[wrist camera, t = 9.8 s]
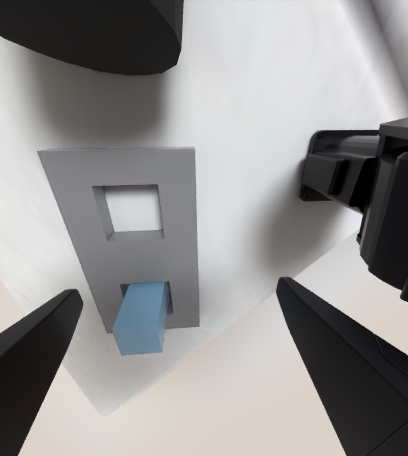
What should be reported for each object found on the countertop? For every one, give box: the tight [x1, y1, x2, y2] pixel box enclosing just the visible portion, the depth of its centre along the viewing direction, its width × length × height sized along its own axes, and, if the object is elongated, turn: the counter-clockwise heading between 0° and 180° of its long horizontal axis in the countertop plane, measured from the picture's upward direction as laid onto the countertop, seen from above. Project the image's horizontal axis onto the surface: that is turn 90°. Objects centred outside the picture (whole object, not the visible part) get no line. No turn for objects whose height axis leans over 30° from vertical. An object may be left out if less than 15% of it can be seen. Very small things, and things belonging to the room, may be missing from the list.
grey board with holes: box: [37, 147, 200, 333], centre depth 21 cm, size 12×22×2 cm, turn 0°
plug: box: [112, 282, 169, 355], centre depth 21 cm, size 4×5×7 cm
